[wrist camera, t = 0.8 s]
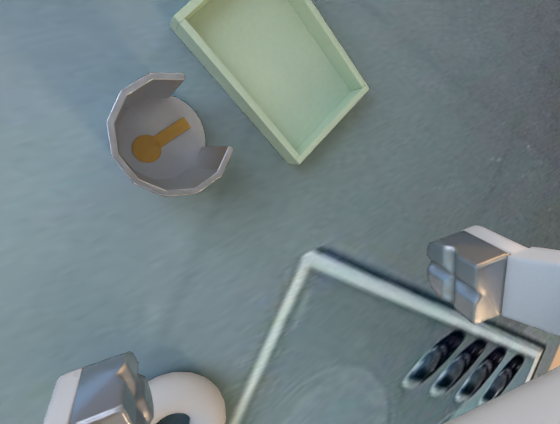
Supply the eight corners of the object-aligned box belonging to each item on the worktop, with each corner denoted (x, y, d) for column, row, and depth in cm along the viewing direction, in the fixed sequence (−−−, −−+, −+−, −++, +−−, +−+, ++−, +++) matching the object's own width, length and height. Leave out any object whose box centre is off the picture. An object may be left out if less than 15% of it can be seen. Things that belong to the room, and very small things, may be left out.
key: (143, 168, 29) (144, 168, 28) (125, 144, 28) (125, 144, 27) (194, 133, 30) (195, 133, 29) (178, 110, 29) (179, 110, 29)
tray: (169, 26, 28) (173, 15, 26) (255, -52, 30) (266, -68, 28) (287, 163, 34) (299, 164, 32) (354, 92, 36) (370, 88, 34)
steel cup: (151, 199, 30) (162, 219, 22) (91, 125, 27) (78, 115, 19) (220, 151, 32) (254, 152, 23) (170, 76, 29) (188, 49, 21)
